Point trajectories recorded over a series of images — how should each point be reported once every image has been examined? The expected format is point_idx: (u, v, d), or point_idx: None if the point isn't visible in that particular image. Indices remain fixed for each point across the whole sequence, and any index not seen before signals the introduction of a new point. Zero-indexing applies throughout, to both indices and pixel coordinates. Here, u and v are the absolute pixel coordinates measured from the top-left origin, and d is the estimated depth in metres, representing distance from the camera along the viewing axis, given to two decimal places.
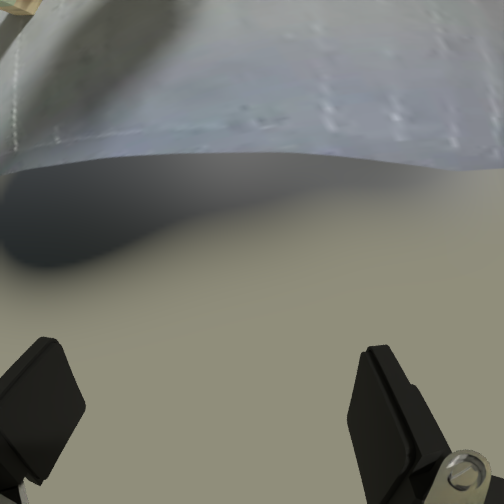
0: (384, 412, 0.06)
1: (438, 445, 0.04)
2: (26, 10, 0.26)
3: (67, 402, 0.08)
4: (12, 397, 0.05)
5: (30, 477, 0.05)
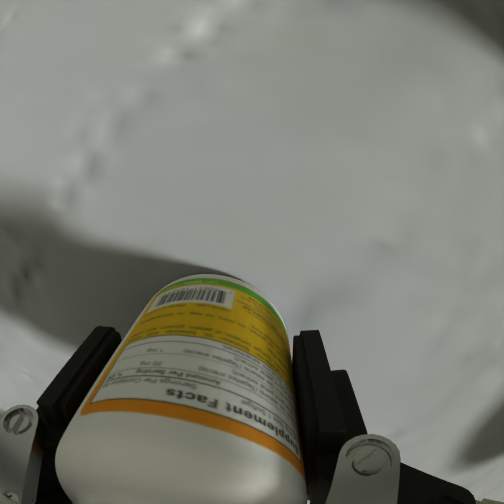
0: (301, 390, 0.07)
1: (340, 424, 0.05)
2: None
3: None
4: (78, 387, 0.06)
5: None
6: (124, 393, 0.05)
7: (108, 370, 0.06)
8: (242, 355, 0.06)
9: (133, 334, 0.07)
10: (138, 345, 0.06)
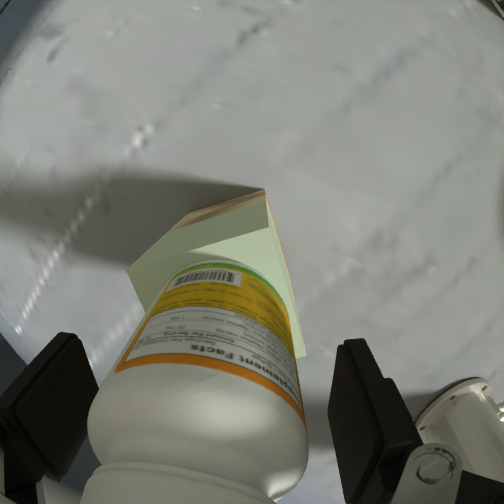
0: (356, 403, 0.06)
1: (405, 436, 0.04)
2: None
3: (86, 397, 0.08)
4: (34, 392, 0.06)
5: (49, 474, 0.05)
6: (155, 350, 0.06)
7: (136, 337, 0.07)
8: (251, 322, 0.08)
9: (155, 309, 0.08)
10: (162, 316, 0.08)
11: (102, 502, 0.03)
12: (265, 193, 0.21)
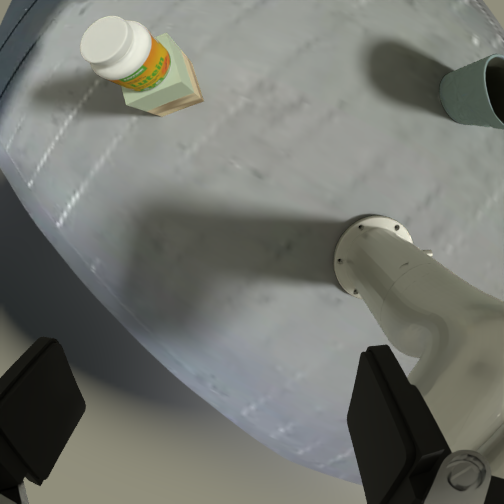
0: (384, 412, 0.06)
1: (437, 445, 0.04)
2: (157, 114, 0.35)
3: (67, 402, 0.08)
4: (12, 397, 0.05)
5: (30, 477, 0.05)
6: None
7: None
8: None
9: None
10: None
11: None
12: (188, 59, 0.33)
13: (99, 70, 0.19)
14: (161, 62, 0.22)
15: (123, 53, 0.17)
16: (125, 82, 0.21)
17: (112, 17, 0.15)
